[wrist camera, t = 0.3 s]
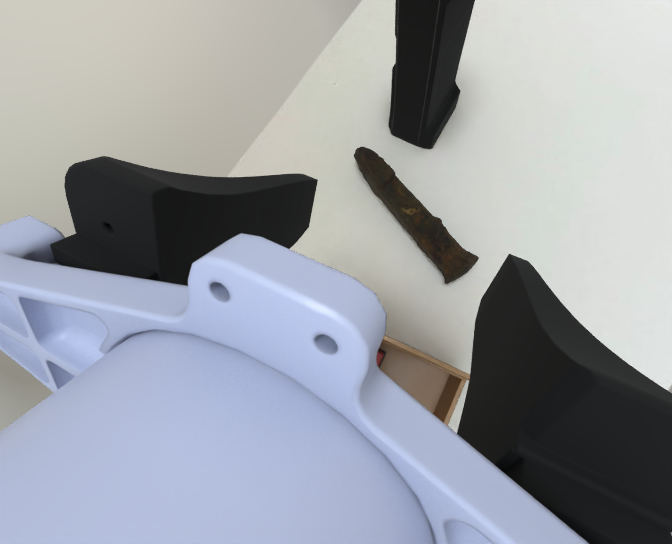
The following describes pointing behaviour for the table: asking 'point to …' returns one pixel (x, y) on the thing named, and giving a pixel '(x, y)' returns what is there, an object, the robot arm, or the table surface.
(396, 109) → the portable radio
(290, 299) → the robot arm
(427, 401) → the carton
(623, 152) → the table surface
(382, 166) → the brown rough bar
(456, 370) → the flap
